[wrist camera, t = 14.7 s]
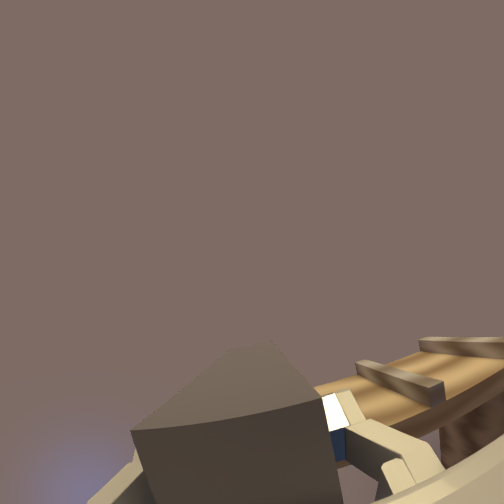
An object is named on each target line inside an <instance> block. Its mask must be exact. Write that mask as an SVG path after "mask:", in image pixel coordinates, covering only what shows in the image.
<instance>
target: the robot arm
mask: <svg viewBox="0 0 504 504" xmlns="http://www.w3.org/2000/svg"><path fill="white" fill-rule="evenodd" d="M321 397H322V398H323V403H324V408H325V412H326V417H327V422H328V427H329V432H330V436H331V441H332V446H333V451H334V456H335V461H336V462H338V461H342V460H345V459H346V461H347V462H349V463H350V464H352V465H353V466H355V467H356V468H358V469H360V470H361V471H362V472H364V473H365V474H367V475H368V476H370V477H372V478H373V479H375V480H376V481H378V482H379V483H378V488H377V492H376V497H375V502H373V503H370V504H504V434H503V435H501V436H500V437H499V438H497V439H496V440H494V441H493V442H491V443H490V444H488V445H487V446H485V447H484V448H482V449H480V450H479V451H477V452H476V453H474V454H472V455H471V456H469V457H467V458H466V459H464V460H462V461H461V462H459V463H457V464H455V465H454V466H452V467H450V468H448V469H446V470H445V468H444V467H443V465H442V464H441V462H440V461H439V460H438V458H437V456H436V455H435V453H434V452H433V450H432V448H431V447H430V445H429V444H428V443H427V442H424V441H421V440H419V439H417V438H414V437H412V436H409V435H407V434H405V433H402V432H400V431H398V430H395V429H393V428H391V427H388V426H386V425H384V424H382V423H379V422H377V421H375V420H373V419H368V420H366V418H365V416H364V414H363V412H362V411H361V409H360V407H359V405H358V403H357V401H356V399H355V398H354V396H353V394H352V392H351V390H350V389H349V388H346V389H343V390H339V391H336V392H334V393H330V394H326V395H323V396H321ZM87 504H156V502H155V499H154V497H153V494H152V492H151V489H150V487H149V484H148V481H147V479H146V476H145V473H144V471H143V468H142V465H141V462H140V459H139V456H138V453H137V450H136V448H135V453H134V457H133V462H132V463H128V464H127V465H126V466H125V467H124V468H123V469H122V470H121V471H120V472H119V473H117V474H116V475H115V476H114V478H112V479H111V480H110V481H109V482H108V483H107V484H106V485H105V486H104V487H103V488H102V489H101V490H100V491H99V492H97V493H96V494H95V495H94V496H93V497H92V498H91V499H90V500H89V501H88V502H87Z"/></svg>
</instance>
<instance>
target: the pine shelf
mask: <svg viewBox="0 0 504 504" xmlns="http://www.w3.org/2000/svg"><path fill="white" fill-rule="evenodd" d="M418 341H419V346H420V352H417V353H415V354H412V355H410V356H407V357H405V358H402V359H399V360H397V361H394V362H391V363H389V364H386V365H382V364H379V363H376V362H372V361H368V360H366V359H364V360H361V361H358V362H355V366H356V370H357V375H354V376H351V377H348V378H344V379H341V380H338V381H334V382H331V383H328V384H324V385H320V386H317V387H313V388H314V389H315V390H316V391H317V392H318V393H319V394H320V395H321V396H323V395H326V394H330V393H334V392H336V391H339V390H343V389H346V388H349V389H350V390H351V392H352V394H353V396H354V398H355V399H356V401H357V403H358V405H359V407H360V409H361V411H362V412H363V414H364V416H365V418H366V420H368V419H373V420H375V421H377V422H379V423H382V424H384V425H386V426H388V427H391V428H393V429H395V430H398V431H400V432H402V433H405V434H407V435H409V436H412V437H414V438H417V439H418V438H420V437H422V436H424V435H426V434H428V433H430V432H432V431H435V430H437V429H439V434H440V450H441V464H442V465H443V467H444V468H445V470H446V469H448V468H450V467H452V466H454V465H455V464H457V463H459V462H461V461H462V460H464V459H466V458H467V457H469V456H471V455H472V454H474V453H476V452H477V451H479V450H480V449H482V448H484V447H485V446H487V445H488V444H490V443H491V442H493V441H494V440H496V439H497V438H499V437H500V436H501V435H503V434H504V337H472V338H471V337H425V338H422V339H419V340H418ZM348 465H351V464H350V463H349V462H347V461H346V459H345V460H342V461H338V462H336V466H337V469H339V468H342V467H345V466H348Z"/></svg>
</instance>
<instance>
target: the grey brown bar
mask: <svg viewBox="0 0 504 504" xmlns="http://www.w3.org/2000/svg"><path fill="white" fill-rule="evenodd" d="M130 432H131V435H132V438H133V441H134V444H135V447H136V450H137V453H138V456H139V459H140V462H141V465H142V468H143V471H144V473H145V476H146V479H147V481H148V484H149V487H150V489H151V492H152V494H153V497H154V499H155V502H156V504H343V498H342V493H341V487H340V482H339V477H338V472H337V466H336V461H335V456H334V451H333V446H332V441H331V436H330V432H329V427H328V422H327V417H326V412H325V408H324V403H323V398H322V397H321V395H320V394H319V393H318V392H317V391H316V390H315V389H314V388H313V387H312V386H311V384H310V383H309V382H308V381H307V380H306V379H305V378H304V377H303V375H302V374H301V373H300V372H299V371H298V370H297V369H296V368H295V367H294V365H293V364H292V363H291V362H290V361H289V360H288V359H287V358H286V356H285V355H284V354H283V353H282V352H281V351H280V349H279V348H278V347H277V346H276V345H275V344H274V342H273V341H268V342H264V343H260V344H255V345H251V346H246V347H242V348H237V349H232V350H228V351H227V352H226V353H225V354H224V355H222V356H221V357H220V358H219V359H218V360H216V361H215V362H214V363H213V364H212V365H211V366H209V367H208V368H207V369H206V370H205V371H204V372H202V373H201V374H200V375H199V376H197V377H196V378H195V379H194V380H193V381H191V382H190V383H189V384H188V385H187V386H185V387H184V388H183V389H182V390H181V391H179V392H178V393H177V394H176V395H174V396H173V397H172V398H171V399H169V400H168V401H167V402H166V403H164V404H163V405H162V406H161V407H159V408H158V409H157V410H156V411H154V412H153V413H152V414H151V415H149V416H148V417H147V418H146V419H144V420H143V421H142V422H140V423H139V424H138V425H137V426H135V427H134V428H133V429H132V430H130Z"/></svg>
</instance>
